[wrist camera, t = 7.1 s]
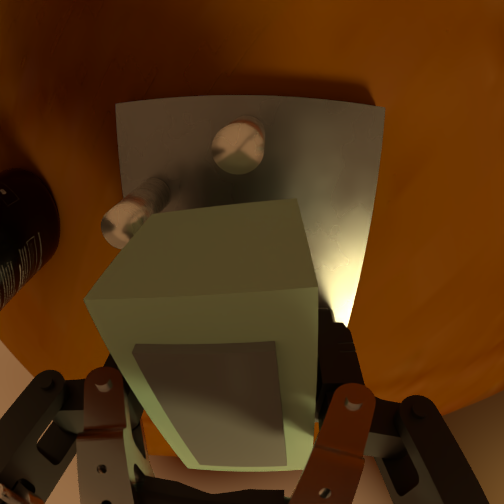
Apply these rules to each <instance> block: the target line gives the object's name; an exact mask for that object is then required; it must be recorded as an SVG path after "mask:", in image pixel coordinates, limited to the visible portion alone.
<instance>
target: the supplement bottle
mask: <svg viewBox="0 0 504 504" xmlns="http://www.w3.org/2000/svg"><path fill="white" fill-rule="evenodd" d="M59 238H60V221H59V215H58V211H57V208H56V205H55V202H54V200H53V198H52V196H51V194H50V192H49V191H48V189H47V188H46V186H45V185H44V184H43V183H42V181H41V180H40V179H39V178H37V177H36V176H35V175H33V174H32V173H30V172H28V171H26V170H23V169H18V168H14V169H9V170H6V171H3V172H1V173H0V311H1V310H2V309H3V307H4V306H5V305H6V304H7V303H8V302H9V301H10V300H11V299H12V298H13V297H14V296H15V294H16V293H17V292H18V291H19V290H20V289H21V288H22V287H23V286H24V285H25V284H26V283H27V282H28V281H29V280H30V279H31V278H32V277H33V276H34V275H35V274H36V273H37V272H38V271H39V270H40V269H41V268H42V267H43V266H44V265H45V264H46V263H47V262H48V261H49V260H50V259H51V258H52V256H53V255H54V253H55V251H56V249H57V247H58V244H59Z"/></svg>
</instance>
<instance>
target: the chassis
mask: <svg viewBox="0 0 504 504" xmlns="http://www.w3.org/2000/svg"><path fill="white" fill-rule="evenodd" d="M115 106H116V126H117V140H118V153H119V163H120V173H121V182H122V191H123V198H124V199H122V200H121V201H120V202H119V203H118V204H116V205H115V206H114V207H113V208H112V209H111V210H109V211H108V212H107V213H106V214H105V215H104V217H103V219H102V222H101V230H102V233H103V236H104V237H105V239H106V240H107V241H108V242H109V243H110V244H111V245H112V246H114V247H116V248H118V249H123V248H124V247H125V245H126V244H127V243H128V242H129V240H130V239H131V238H132V237H133V236H134V234H135V233H136V232H137V231H138V230H139V229H140V227H141V226H142V225H143V224H144V223H145V222H146V220H147V219H148V218H149V217H150V216H151V215H152V214H157V213H164V212H172V211H180V210H188V209H196V208H204V207H213V206H222V205H231V204H241V203H250V202H261V201H271V200H282V199H294V198H297V201H298V205H299V209H300V213H301V217H302V221H303V225H304V229H305V233H306V237H307V241H308V245H309V249H310V253H311V257H312V262H313V266H314V270H315V275H316V279H317V283H318V309H330V311H331V315H332V320H333V322H343V323H344V324H345V326H346V327H347V325H348V322H349V318H350V314H351V310H352V306H353V302H354V298H355V294H356V290H357V286H358V282H359V277H360V273H361V268H362V264H363V259H364V254H365V249H366V244H367V239H368V234H369V228H370V223H371V217H372V212H373V206H374V199H375V193H376V186H377V179H378V172H379V164H380V156H381V148H382V138H383V128H384V117H385V108H384V107H378V106H372V105H365V104H359V103H351V102H343V101H335V100H326V99H315V98H303V97H287V96H264V95H211V96H188V97H173V98H161V99H150V100H141V101H133V102H125V103H118V104H115Z"/></svg>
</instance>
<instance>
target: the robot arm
mask: <svg viewBox="0 0 504 504" xmlns="http://www.w3.org/2000/svg"><path fill="white" fill-rule="evenodd" d="M355 351H356V350H355V346H354V344H353V339H352V335H351V332H350V330H349V329H348V328H347V327H346V326H345V324H344V323H343V322H333V320H332V315H331V311H330V309H318V357H317V385H316V405H315V422H319V433H318V436H317V438H316V441H315V443H314V446H313V448H312V451H311V453H310V456H309V458H308V460H307V463H306V465H305V467H304V469H303V472H302V474H301V476H300V479H299V481H298V483H297V485H296V487H295V489H294V491H293V493H292V495H291V498H288V497H284V490H255V489H248V490H242V491H235V492H228V493H220V494H209V493H206V492H203V491H200V490H198V489H195V488H192V487H190V486H187V485H184V484H182V483H180V482H177V481H171V480H165V479H160V478H155V475H154V473H153V470H152V468H151V465H150V461H149V456H148V451H147V445H146V440H145V434H144V428H143V422H142V419H141V416H142V413H143V410H144V408H143V406H142V405H141V403H140V402H139V400H138V399H137V397H136V396H135V394H134V392H133V391H132V389H131V388H130V386H129V384H128V383H127V381H126V379H125V378H124V376H123V374H122V373H121V371H120V369H119V368H118V366H117V364H116V362H115V361H114V359H113V357H112V355H111V353H110V354H109V356H108V358H107V360H106V362H105V364H104V366H103V367H99V368H96V369H94V370H93V371H91V372H90V373H89V374H88V375H87V377H86V379H79V380H64V378H63V376H62V375H61V374H60V373H59V372H58V371H55V370H46V371H43V372H41V373H39V374H38V375H37V376H36V377H35V378H34V379H33V380H32V381H31V383H30V384H29V385H28V386H27V387H26V389H25V390H24V391H23V392H22V393H21V394H20V396H19V397H18V398H17V399H16V401H15V402H14V403H13V404H12V405H11V407H10V408H9V409H8V410H7V412H6V413H5V414H4V415H3V417H2V418H1V419H0V504H45V502H46V500H47V498H48V497H49V495H50V494H51V492H52V491H53V489H54V487H55V486H56V484H57V483H58V481H59V480H60V478H61V476H62V475H63V473H64V472H65V470H66V468H67V467H68V465H69V464H70V462H71V461H72V459H73V457H74V456H75V454H76V453H77V470H78V483H79V494H80V503H81V504H352V502H353V499H354V496H355V493H356V490H357V487H358V484H359V480H360V477H361V474H362V471H363V467H364V462H365V459H364V458H363V455H367V456H373V457H374V458H375V461H376V463H377V465H378V468H379V470H380V473H381V475H382V477H383V480H384V482H385V484H386V487H387V489H388V492H389V494H390V497H391V499H392V501H393V503H394V504H489V502H488V500H487V498H486V496H485V494H484V492H483V490H482V488H481V486H480V484H479V482H478V480H477V478H476V477H475V474H474V473H473V471H472V469H471V467H470V465H469V464H468V462H467V460H466V458H465V456H464V454H463V452H462V451H461V449H460V447H459V445H458V443H457V442H456V440H455V438H454V436H453V435H452V433H451V431H450V430H449V428H448V426H447V425H446V423H445V421H444V420H443V418H442V416H441V414H440V413H439V411H438V409H437V408H436V406H435V405H434V403H433V402H432V401H431V400H429V399H428V398H426V397H424V396H420V395H413V396H409V397H407V398H406V399H404V400H403V401H402V403H397V402H391V401H386V400H382V399H379V398H377V397H375V396H374V394H373V393H372V391H371V390H370V389H369V388H367V387H366V386H365V384H364V381H363V377H362V373H361V369H360V365H359V361H358V358H357V354H356V352H355ZM52 420H53V422H52V424H51V425H50V426H49V428H48V429H47V430H46V432H45V433H44V435H43V436H42V438H41V439H40V440H39V442H38V443H37V441H38V439H39V438H40V436H41V435H42V433H43V432H44V431H45V429H46V428H47V426H48V425H49V424H50V422H51V421H52Z"/></svg>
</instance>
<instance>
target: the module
mask: <svg viewBox="0 0 504 504" xmlns="http://www.w3.org/2000/svg"><path fill="white" fill-rule="evenodd" d="M83 300H84V302H85V304H86V307H87V309H88V311H89V313H90V315H91V317H92V319H93V321H94V323H95V325H96V327H97V329H98V331H99V333H100V335H101V337H102V339H103V341H104V342H105V344H106V346H107V348H108V350H109V352H110V353H111V355H112V357H113V359H114V361H115V362H116V364H117V366H118V368H119V369H120V371H121V373H122V374H123V376H124V378H125V379H126V381H127V383H128V384H129V386H130V388H131V389H132V391H133V392H134V394H135V396H136V397H137V399H138V400H139V402H140V403H141V405H142V406H143V408H144V409H145V411H146V412H147V414H148V415H149V417H150V418H151V420H152V421H153V423H154V424H155V425H156V427H157V428H158V430H159V431H160V432H161V434H162V435H163V437H164V438H165V439H166V441H167V442H168V443H169V445H170V446H171V447H172V449H173V450H174V451H175V453H176V454H177V455H178V456H179V458H180V459H181V460H182V461H183V463H184V464H185V465H186V466H187V468H192V469H203V470H219V471H286V470H302V469H304V467H305V465H306V463H307V460H308V458H309V456H310V453H311V451H312V448H313V436H314V422H315V405H316V385H317V357H318V283H317V279H316V275H315V270H314V266H313V262H312V257H311V253H310V249H309V245H308V241H307V237H306V233H305V229H304V225H303V221H302V217H301V213H300V209H299V205H298V201H297V198H294V199H282V200H271V201H261V202H250V203H241V204H231V205H222V206H213V207H204V208H196V209H188V210H180V211H172V212H164V213H157V214H152V215H151V216H150V217H149V218H148V219H147V220H146V222H145V223H144V224H143V225H142V226H141V227H140V229H139V230H138V231H137V232H136V233H135V234H134V236H133V237H132V238H131V239H130V240H129V242H128V243H127V244H126V245H125V247H124V248H123V249H122V250H121V251H120V253H119V254H118V255H117V256H116V258H115V259H114V260H113V261H112V263H111V264H110V265H109V267H108V268H107V269H106V270H105V272H104V273H103V274H102V275H101V277H100V278H99V279H98V281H97V282H96V283H95V285H94V286H93V287H92V289H91V290H90V291H89V293H88V294H87V295H86V297H85V298H84V299H83Z"/></svg>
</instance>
